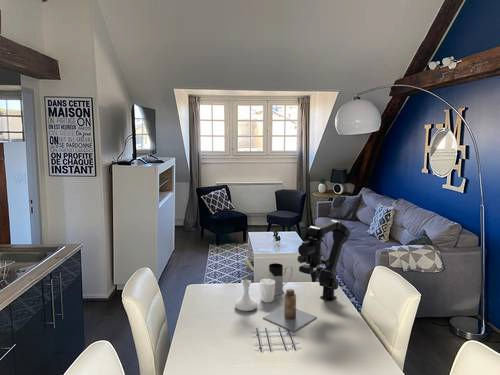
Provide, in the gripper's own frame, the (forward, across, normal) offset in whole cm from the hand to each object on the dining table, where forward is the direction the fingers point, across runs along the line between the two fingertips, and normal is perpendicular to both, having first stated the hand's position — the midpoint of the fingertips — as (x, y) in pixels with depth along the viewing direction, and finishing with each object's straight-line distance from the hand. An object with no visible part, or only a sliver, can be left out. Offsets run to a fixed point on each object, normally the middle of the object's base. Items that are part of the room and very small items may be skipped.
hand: (314, 281), depth 191 cm
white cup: (+13, +10, -22) cm, 28 cm away
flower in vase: (+13, +24, -24) cm, 36 cm away
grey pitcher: (+13, -3, -24) cm, 28 cm away
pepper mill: (+12, +18, -1) cm, 22 cm away
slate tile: (+13, +18, -1) cm, 22 cm away
